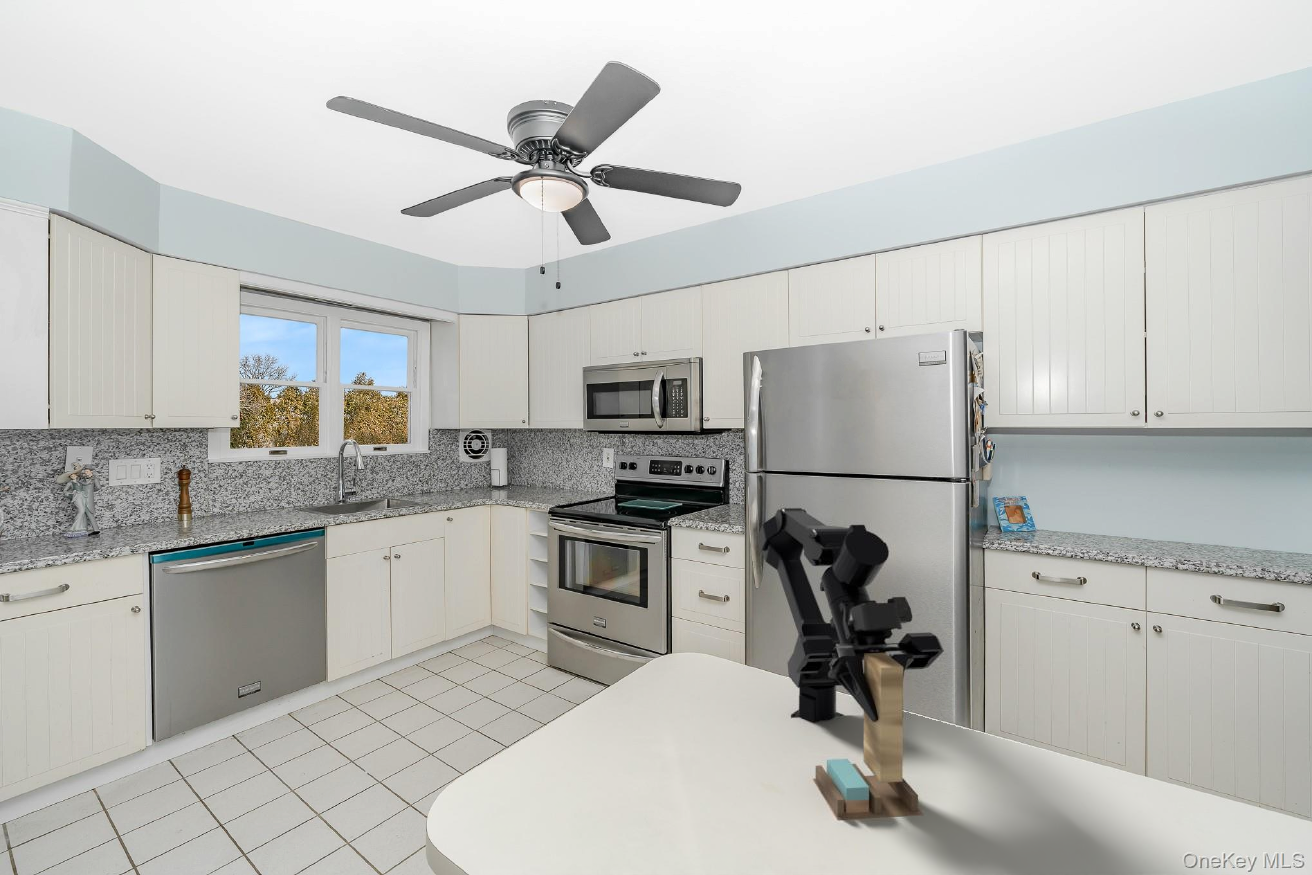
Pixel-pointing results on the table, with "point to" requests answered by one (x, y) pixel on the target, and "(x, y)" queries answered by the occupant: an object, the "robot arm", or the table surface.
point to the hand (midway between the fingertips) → (888, 720)
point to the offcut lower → (854, 804)
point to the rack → (871, 797)
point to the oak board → (884, 718)
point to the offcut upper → (847, 780)
